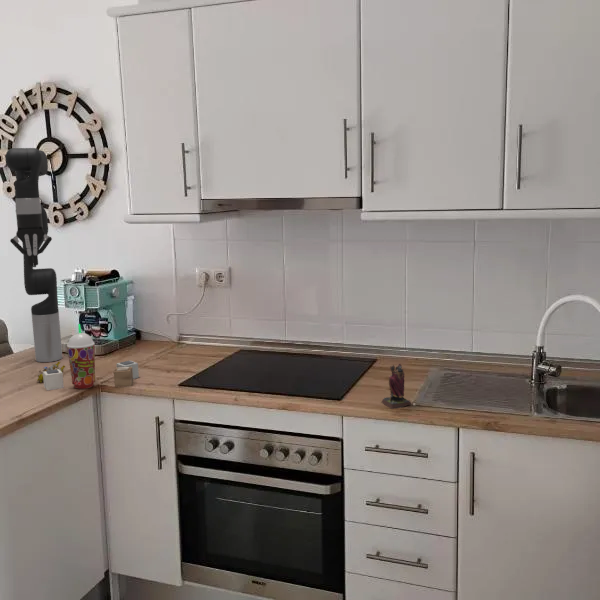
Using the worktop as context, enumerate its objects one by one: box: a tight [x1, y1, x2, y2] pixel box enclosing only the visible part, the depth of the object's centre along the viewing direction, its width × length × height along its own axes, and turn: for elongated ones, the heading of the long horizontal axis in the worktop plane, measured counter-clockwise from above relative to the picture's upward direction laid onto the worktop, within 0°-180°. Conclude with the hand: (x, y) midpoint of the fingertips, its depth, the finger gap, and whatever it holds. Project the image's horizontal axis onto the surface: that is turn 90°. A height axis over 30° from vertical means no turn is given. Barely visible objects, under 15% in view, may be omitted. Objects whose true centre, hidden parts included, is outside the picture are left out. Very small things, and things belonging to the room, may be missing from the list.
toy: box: [36, 361, 66, 384], centre depth 232 cm, size 5×5×15 cm
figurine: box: [381, 363, 412, 410], centre depth 195 cm, size 6×6×12 cm
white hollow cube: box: [43, 368, 64, 392], centre depth 220 cm, size 5×5×5 cm
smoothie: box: [66, 323, 96, 390], centre depth 219 cm, size 8×8×20 cm
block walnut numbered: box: [113, 367, 134, 388], centre depth 221 cm, size 5×5×5 cm
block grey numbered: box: [115, 360, 140, 380], centre depth 228 cm, size 5×5×5 cm
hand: (33, 266), depth 224 cm, fingers closed
